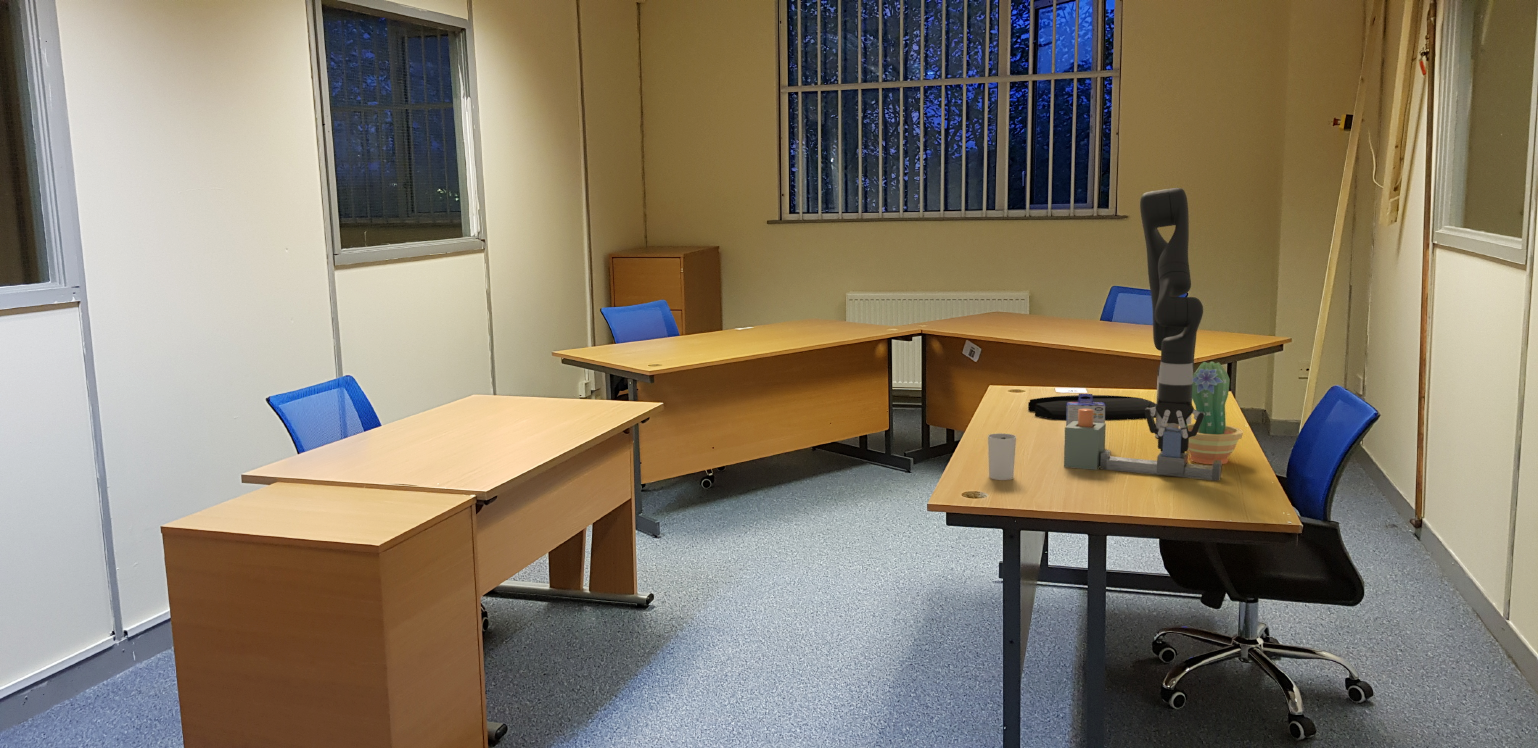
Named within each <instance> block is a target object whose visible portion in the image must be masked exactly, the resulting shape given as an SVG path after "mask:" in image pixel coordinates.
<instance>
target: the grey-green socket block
mask: <svg viewBox="0 0 1538 748" xmlns="http://www.w3.org/2000/svg"><path fill="white" fill-rule="evenodd" d="M1106 428H1107V427H1106V422H1105V423H1094V422H1093V428H1089V427H1078V421H1073V422H1071V423H1070V424H1069V425H1067V426H1066V425H1065V427H1064V446H1063V447H1064V451H1063V452H1064V453H1063V455H1064V456H1063V459H1064V460H1063V467H1064V468H1072V469H1081V470H1089V471H1090V470H1091V471H1092V470H1093V471H1098V470H1099V469H1100V461H1101V452H1102V451H1103V450H1106V430H1107V429H1106Z"/></svg>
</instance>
